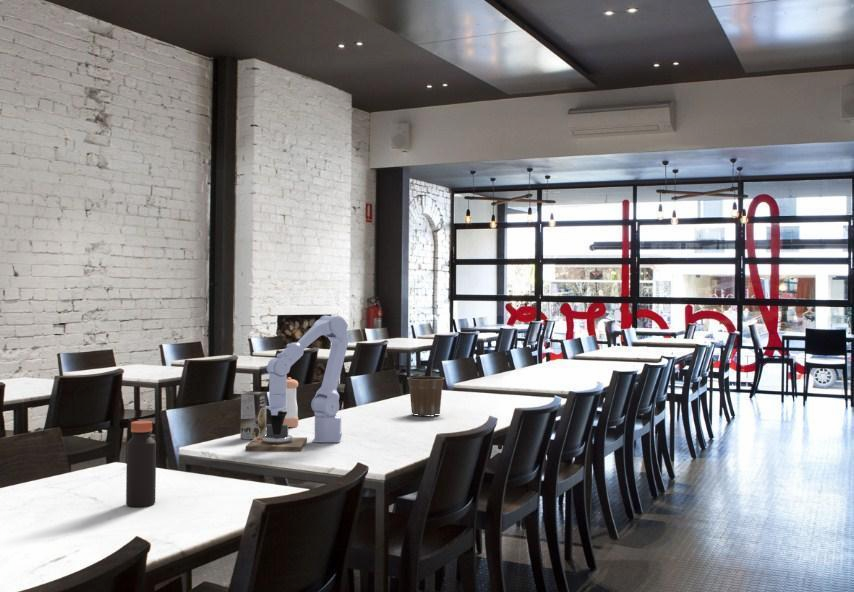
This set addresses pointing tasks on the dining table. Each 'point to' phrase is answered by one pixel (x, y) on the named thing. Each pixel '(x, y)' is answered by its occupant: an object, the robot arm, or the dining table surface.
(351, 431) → the dining table surface
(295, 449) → the dial plate
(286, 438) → the dial
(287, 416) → the pepper shaker
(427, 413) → the plant pot
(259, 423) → the coffee box
